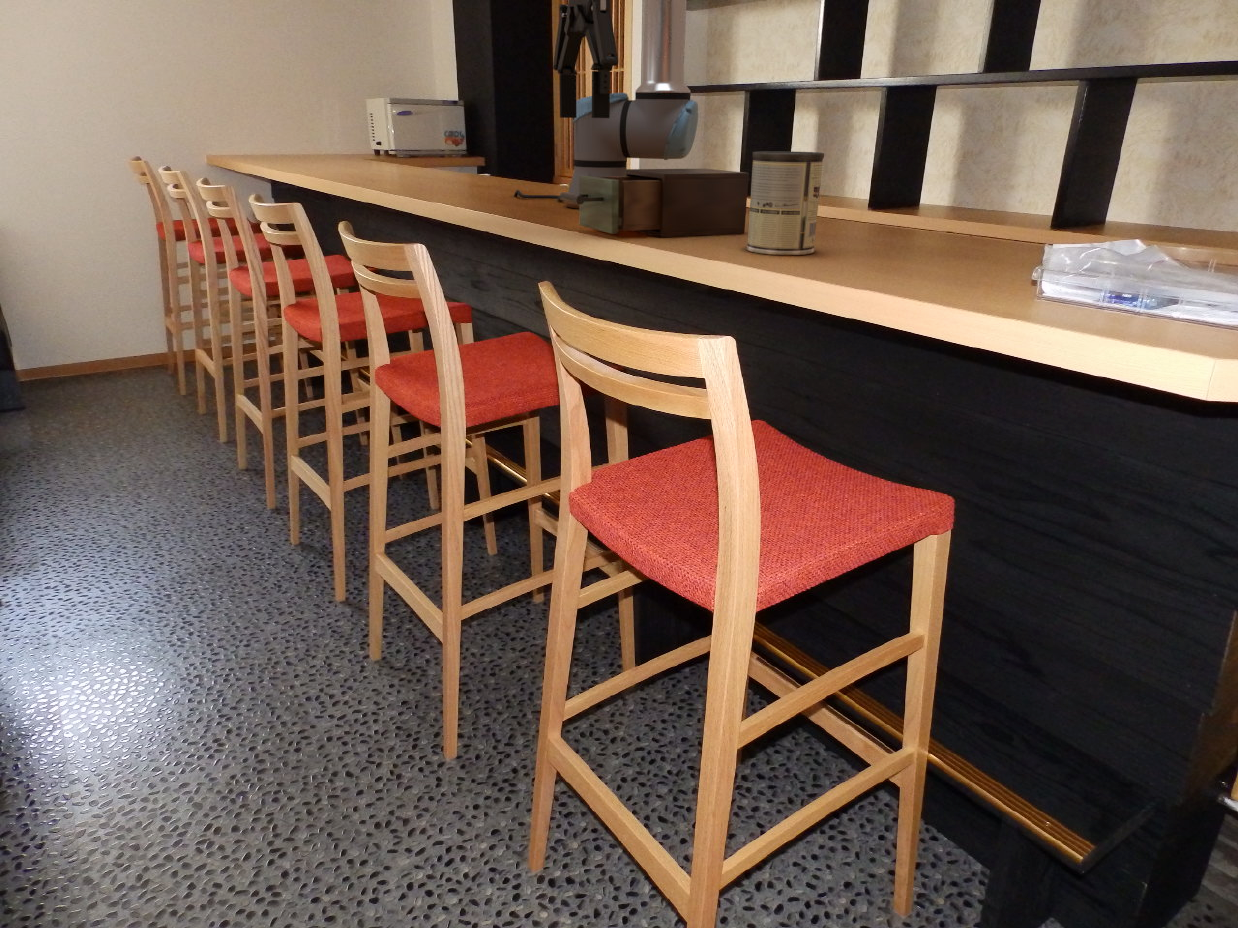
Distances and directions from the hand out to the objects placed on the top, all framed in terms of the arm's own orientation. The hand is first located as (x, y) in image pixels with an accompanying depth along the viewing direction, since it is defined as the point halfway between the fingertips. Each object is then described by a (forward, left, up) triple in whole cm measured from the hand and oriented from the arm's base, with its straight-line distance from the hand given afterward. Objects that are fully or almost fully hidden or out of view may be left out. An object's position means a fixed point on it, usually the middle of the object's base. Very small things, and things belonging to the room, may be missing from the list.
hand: (583, 118), depth 135 cm
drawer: (0, +7, -17) cm, 19 cm away
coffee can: (+27, +20, -19) cm, 39 cm away
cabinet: (0, +20, -18) cm, 27 cm away
